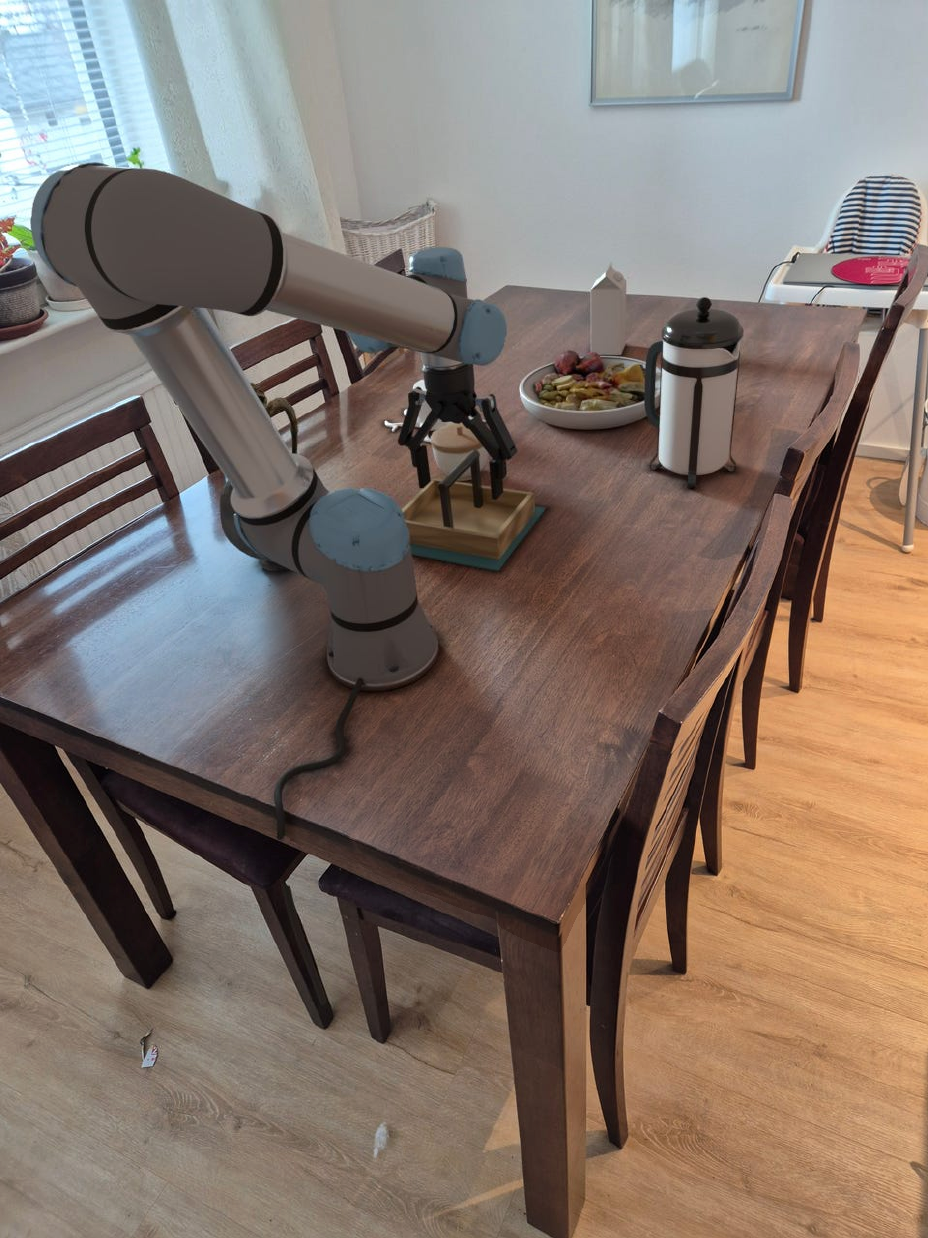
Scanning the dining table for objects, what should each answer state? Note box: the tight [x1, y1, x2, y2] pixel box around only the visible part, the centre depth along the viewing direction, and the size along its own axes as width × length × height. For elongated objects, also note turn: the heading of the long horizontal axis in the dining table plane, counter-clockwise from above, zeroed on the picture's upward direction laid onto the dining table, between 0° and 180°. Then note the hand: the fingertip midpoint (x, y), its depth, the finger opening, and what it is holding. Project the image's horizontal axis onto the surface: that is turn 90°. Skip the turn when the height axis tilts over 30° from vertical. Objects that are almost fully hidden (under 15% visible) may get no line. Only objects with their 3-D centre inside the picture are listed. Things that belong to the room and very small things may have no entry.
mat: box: [410, 505, 547, 572], centre depth 144 cm, size 20×21×1 cm
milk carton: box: [589, 261, 627, 356], centre depth 198 cm, size 7×7×19 cm
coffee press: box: [644, 296, 745, 489], centre depth 145 cm, size 17×16×30 cm
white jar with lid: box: [430, 423, 490, 482], centre depth 157 cm, size 11×11×9 cm
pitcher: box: [219, 382, 299, 572], centre depth 134 cm, size 11×19×30 cm, turn 156°
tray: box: [401, 450, 535, 560], centre depth 140 cm, size 15×19×11 cm
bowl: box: [519, 349, 662, 431], centre depth 177 cm, size 30×30×8 cm
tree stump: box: [384, 379, 487, 444], centre depth 177 cm, size 20×19×8 cm
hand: (460, 490), depth 140 cm, fingers open, 12 cm apart
